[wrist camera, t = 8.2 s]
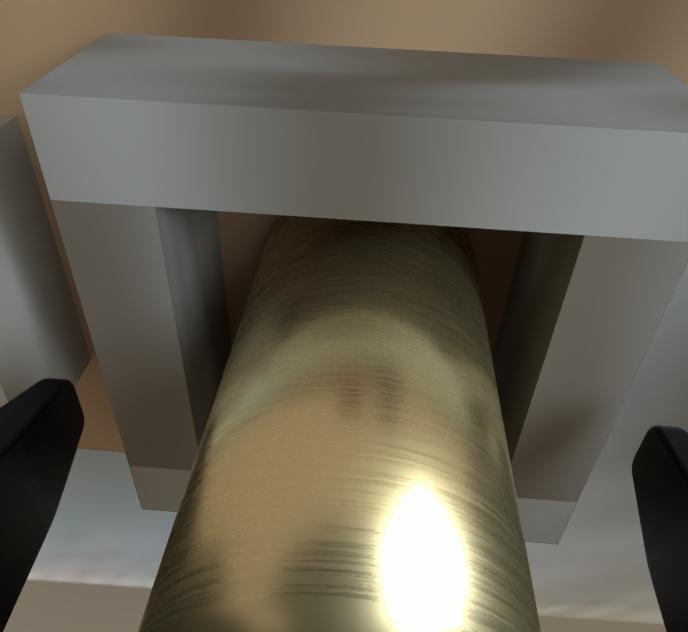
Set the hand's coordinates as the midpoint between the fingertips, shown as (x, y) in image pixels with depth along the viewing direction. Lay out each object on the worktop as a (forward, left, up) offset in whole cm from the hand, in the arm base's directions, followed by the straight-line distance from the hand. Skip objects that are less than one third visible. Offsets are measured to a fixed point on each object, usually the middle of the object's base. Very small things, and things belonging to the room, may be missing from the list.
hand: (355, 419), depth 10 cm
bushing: (0, 0, -4) cm, 4 cm away
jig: (+3, 0, -6) cm, 6 cm away
